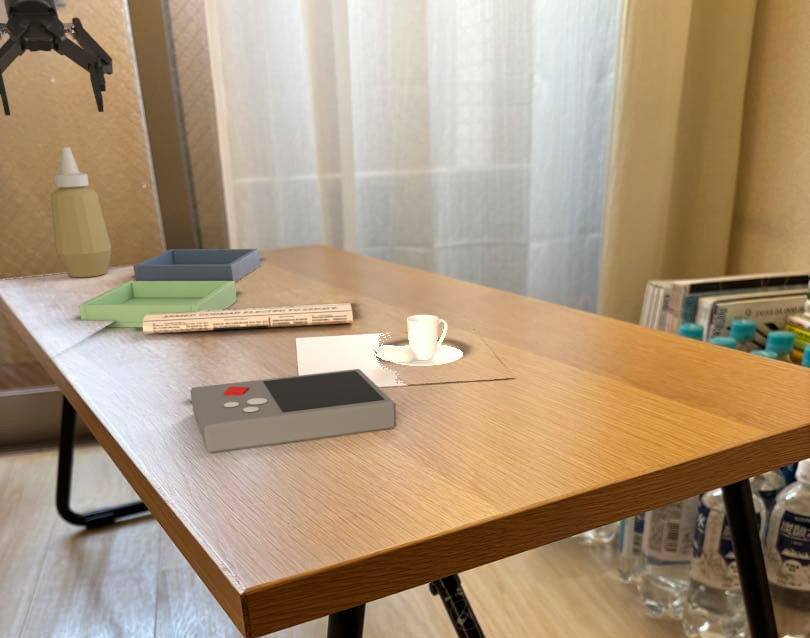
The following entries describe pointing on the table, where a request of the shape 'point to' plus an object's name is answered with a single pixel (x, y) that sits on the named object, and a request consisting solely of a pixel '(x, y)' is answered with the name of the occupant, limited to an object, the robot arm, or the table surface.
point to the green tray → (157, 300)
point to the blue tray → (198, 265)
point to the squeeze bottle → (78, 222)
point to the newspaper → (247, 318)
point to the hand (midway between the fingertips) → (54, 106)
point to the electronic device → (290, 409)
